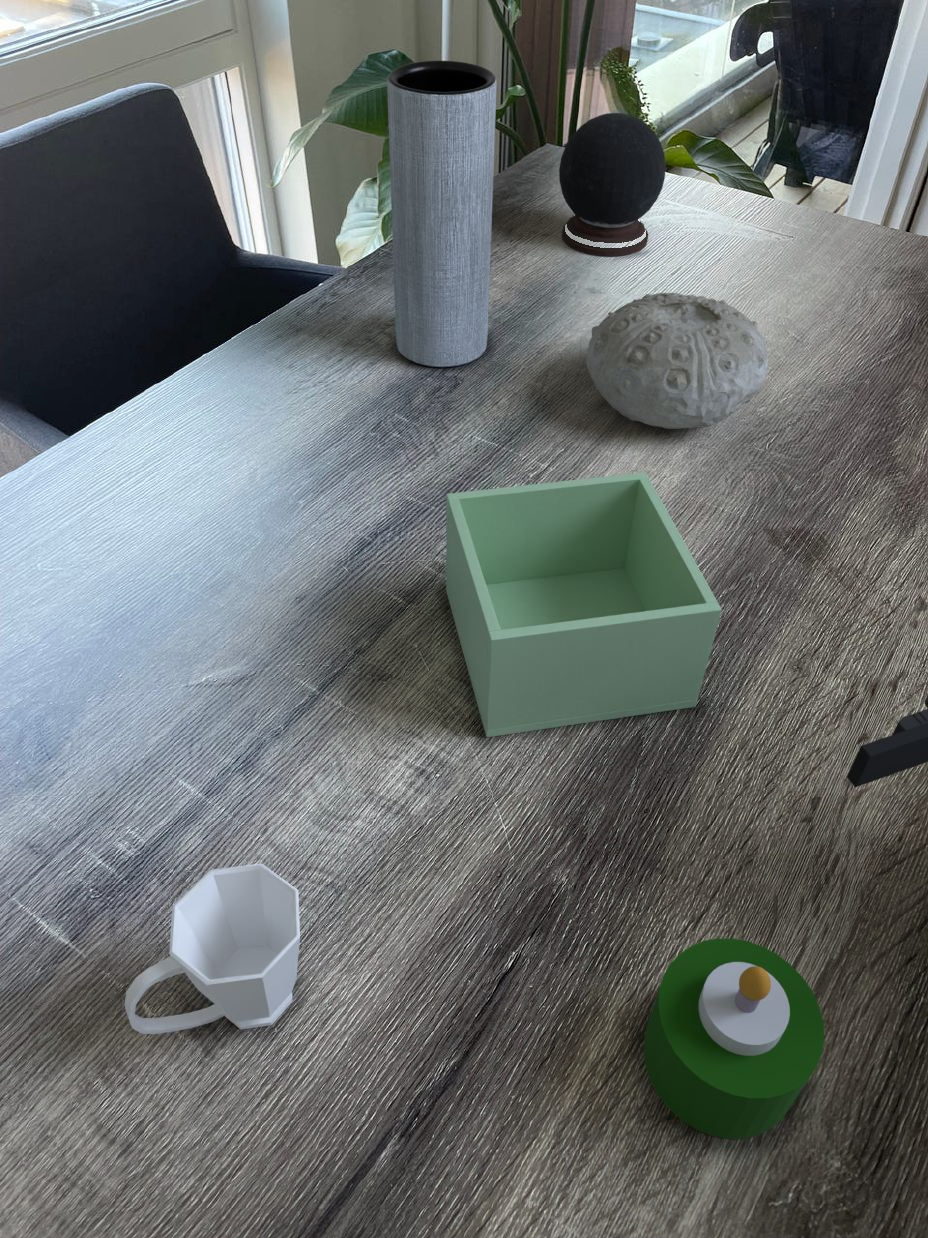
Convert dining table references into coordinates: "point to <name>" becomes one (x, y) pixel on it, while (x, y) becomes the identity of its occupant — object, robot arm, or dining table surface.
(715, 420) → the decorative shell
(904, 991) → the dining table surface
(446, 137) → the vase
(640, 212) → the black ball on stand
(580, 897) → the dining table surface
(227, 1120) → the dining table surface
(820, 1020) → the candle
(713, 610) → the bin
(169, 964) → the cup
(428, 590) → the dining table surface
